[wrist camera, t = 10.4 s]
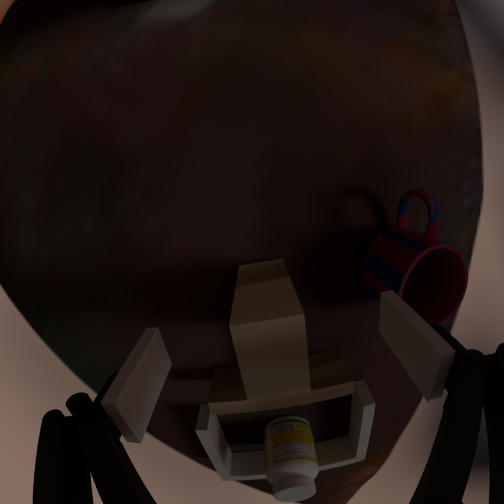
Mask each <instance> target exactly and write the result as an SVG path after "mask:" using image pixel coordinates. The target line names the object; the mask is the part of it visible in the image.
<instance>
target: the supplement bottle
mask: <svg viewBox="0 0 504 504" xmlns="http://www.w3.org/2000/svg"><path fill="white" fill-rule="evenodd" d="M265 467H266V468H265V471H266V478H267V480H268V481H269V482H270V483H272V484H273V485H274V486H273V496H274V498H275V499H276V500H279V501H283V502H296V501H301V500H305V499H308V498H310V497H312V496H313V495H314V494H315V492H316V489H315V482H314V481H313V479H314V478H315V477H316V476H317V474H318V472H319V466H318V461H317V456H316V452H315V446H314V441H313V436H312V432H311V428H310V424H309V422H308V421H307V420H306V419H304V418H302V417H299V416H283V417H279V418H276V419H274V420H272V421H271V422H270V423H269V424H268V425H267V426H266V428H265Z"/></svg>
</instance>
